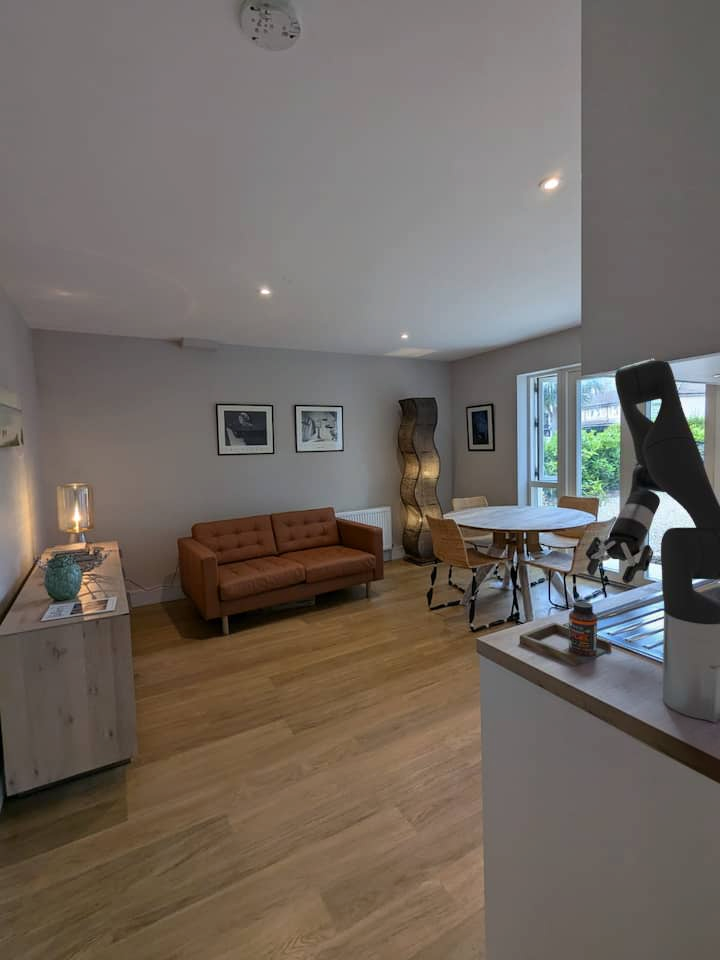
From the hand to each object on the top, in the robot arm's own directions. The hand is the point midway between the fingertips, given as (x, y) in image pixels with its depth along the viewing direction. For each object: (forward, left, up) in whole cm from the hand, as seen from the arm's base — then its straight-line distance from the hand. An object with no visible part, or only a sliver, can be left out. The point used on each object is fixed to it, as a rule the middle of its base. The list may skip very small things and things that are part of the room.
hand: (607, 577), depth 111 cm
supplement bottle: (0, +10, -16) cm, 19 cm away
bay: (+4, +11, -16) cm, 20 cm away
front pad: (0, +11, -16) cm, 19 cm away
